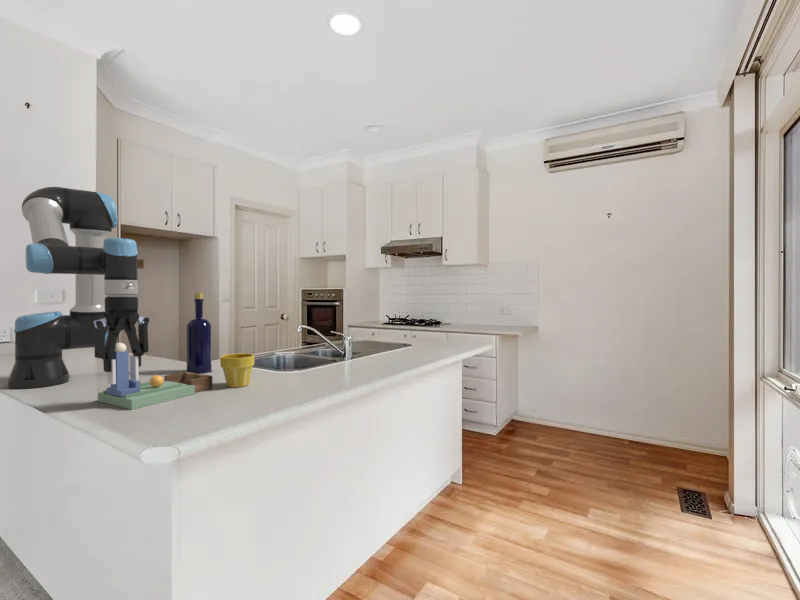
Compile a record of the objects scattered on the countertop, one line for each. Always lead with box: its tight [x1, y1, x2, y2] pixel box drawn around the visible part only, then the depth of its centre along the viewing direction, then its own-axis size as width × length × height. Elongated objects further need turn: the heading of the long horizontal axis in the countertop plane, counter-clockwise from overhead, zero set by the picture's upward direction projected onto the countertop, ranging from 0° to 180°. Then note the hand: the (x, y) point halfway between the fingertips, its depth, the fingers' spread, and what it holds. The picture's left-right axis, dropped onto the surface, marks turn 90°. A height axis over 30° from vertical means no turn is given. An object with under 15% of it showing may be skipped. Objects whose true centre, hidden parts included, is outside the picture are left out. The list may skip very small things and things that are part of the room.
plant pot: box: [219, 352, 255, 388], centre depth 133 cm, size 10×10×10 cm
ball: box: [149, 375, 164, 387], centre depth 120 cm, size 4×4×4 cm
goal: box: [163, 371, 213, 393], centre depth 129 cm, size 13×7×4 cm, turn 63°
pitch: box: [97, 381, 195, 410], centre depth 118 cm, size 16×18×3 cm
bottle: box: [186, 292, 213, 375], centre depth 155 cm, size 9×9×30 cm
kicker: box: [106, 342, 141, 397], centre depth 112 cm, size 7×5×14 cm
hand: (123, 381), depth 112 cm, fingers open, 5 cm apart
